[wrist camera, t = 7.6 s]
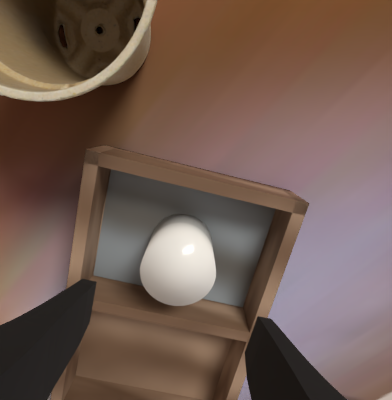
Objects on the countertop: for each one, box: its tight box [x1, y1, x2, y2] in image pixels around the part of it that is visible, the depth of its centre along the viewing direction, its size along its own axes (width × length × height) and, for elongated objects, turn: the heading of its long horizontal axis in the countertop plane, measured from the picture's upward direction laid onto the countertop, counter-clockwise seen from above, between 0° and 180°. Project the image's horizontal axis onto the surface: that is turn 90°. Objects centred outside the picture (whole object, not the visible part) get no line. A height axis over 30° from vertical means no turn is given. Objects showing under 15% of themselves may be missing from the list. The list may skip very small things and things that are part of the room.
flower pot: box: [0, 0, 157, 102], centre depth 13 cm, size 9×9×9 cm
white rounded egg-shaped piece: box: [140, 213, 216, 306], centre depth 18 cm, size 4×4×4 cm
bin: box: [51, 145, 309, 400], centre depth 20 cm, size 20×14×4 cm, turn 166°
